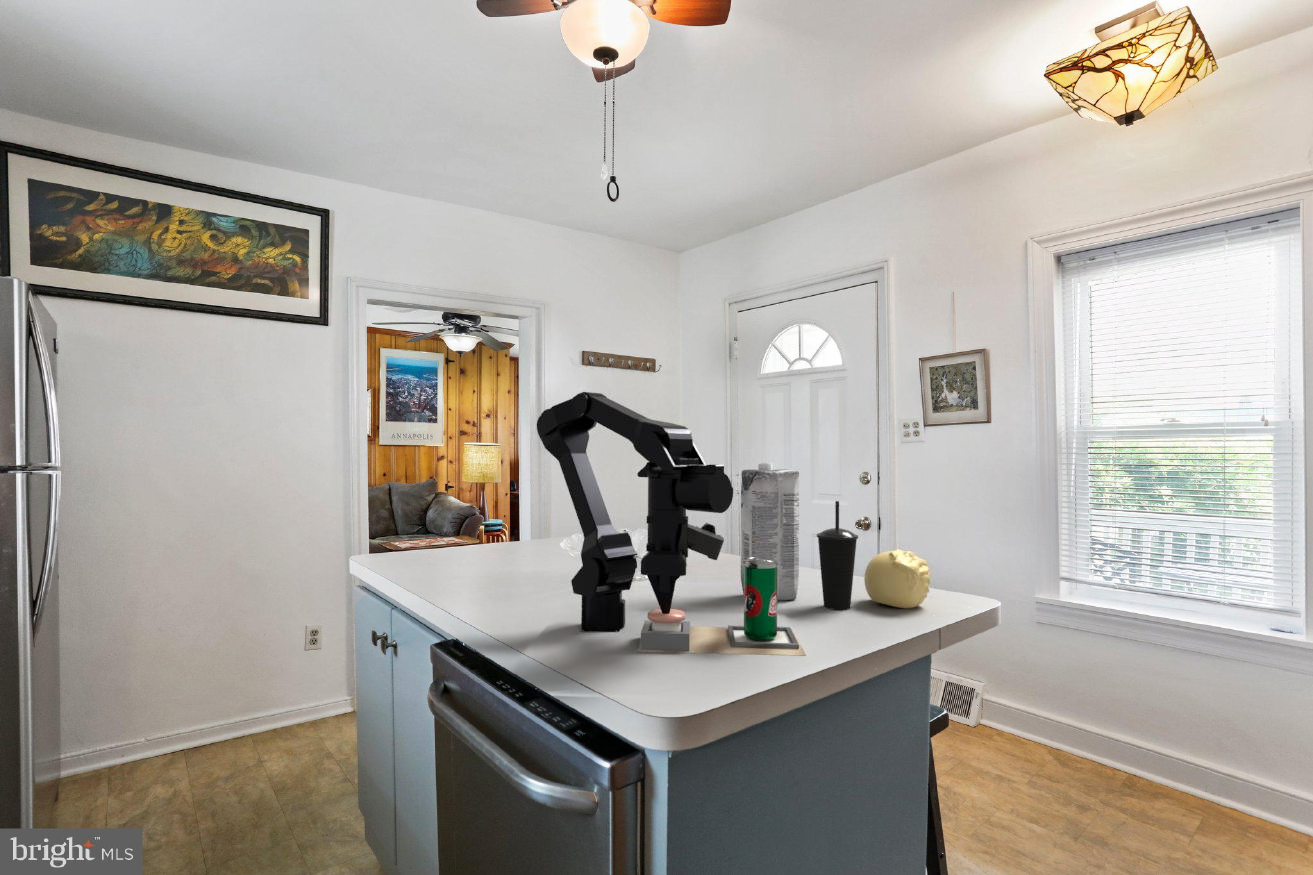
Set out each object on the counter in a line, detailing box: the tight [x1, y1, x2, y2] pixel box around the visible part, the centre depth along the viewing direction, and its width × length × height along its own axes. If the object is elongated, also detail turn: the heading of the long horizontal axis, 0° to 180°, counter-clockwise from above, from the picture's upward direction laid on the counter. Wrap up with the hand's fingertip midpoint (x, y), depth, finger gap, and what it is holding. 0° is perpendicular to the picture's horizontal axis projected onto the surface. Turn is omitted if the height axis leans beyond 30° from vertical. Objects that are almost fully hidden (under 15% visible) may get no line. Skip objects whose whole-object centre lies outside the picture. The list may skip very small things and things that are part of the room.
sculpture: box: [863, 548, 931, 609], centre depth 129 cm, size 12×12×11 cm
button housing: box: [640, 619, 691, 651], centre depth 99 cm, size 7×7×2 cm
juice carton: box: [740, 462, 800, 602], centre depth 134 cm, size 9×10×27 cm
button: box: [647, 608, 686, 632], centre depth 99 cm, size 6×6×4 cm
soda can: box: [743, 557, 778, 641], centre depth 103 cm, size 5×5×12 cm
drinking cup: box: [816, 500, 859, 611], centre depth 127 cm, size 8×8×20 cm
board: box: [636, 625, 807, 657], centre depth 102 cm, size 24×14×1 cm, turn 86°
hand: (666, 613), depth 100 cm, fingers closed, pressing on button
